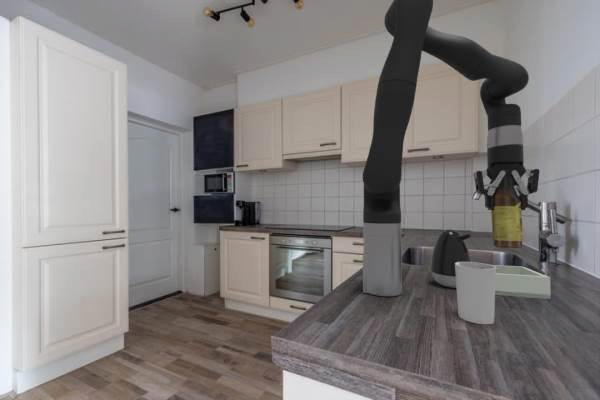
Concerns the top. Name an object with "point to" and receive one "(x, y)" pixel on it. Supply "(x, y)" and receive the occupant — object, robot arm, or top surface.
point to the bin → (521, 282)
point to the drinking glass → (475, 291)
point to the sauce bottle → (506, 215)
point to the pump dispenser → (448, 256)
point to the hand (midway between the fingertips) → (506, 209)
